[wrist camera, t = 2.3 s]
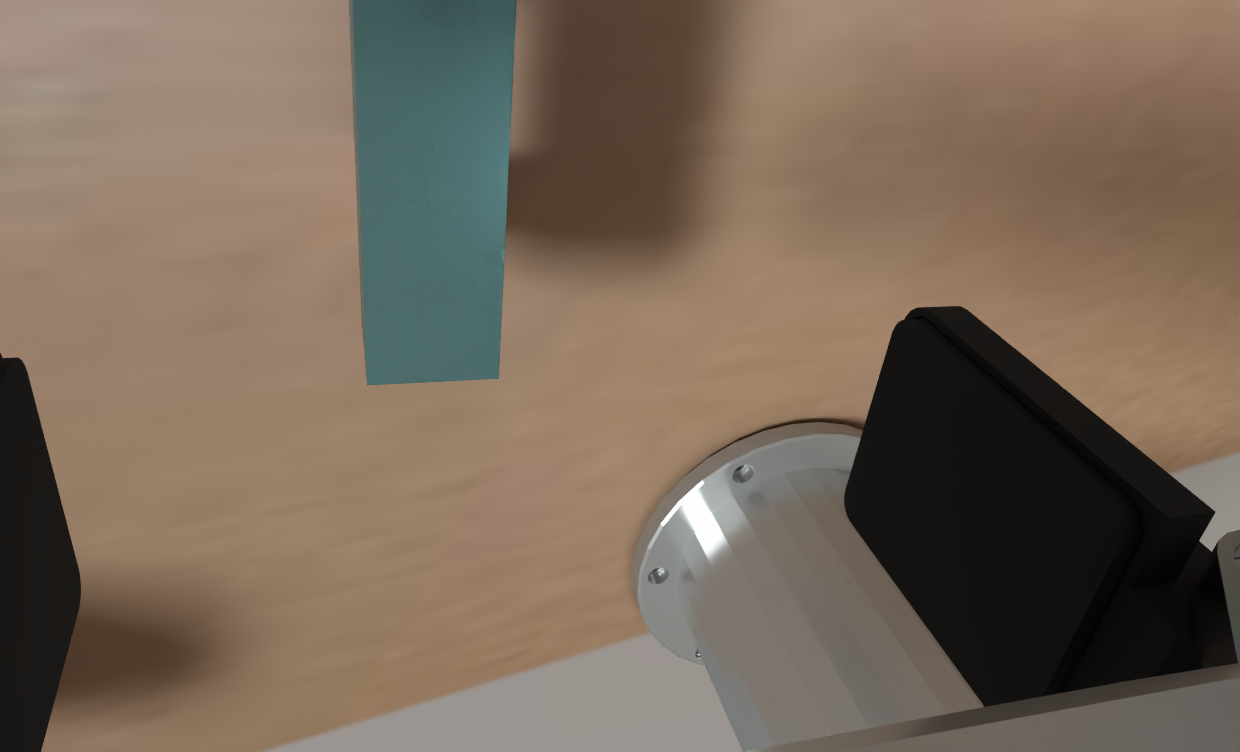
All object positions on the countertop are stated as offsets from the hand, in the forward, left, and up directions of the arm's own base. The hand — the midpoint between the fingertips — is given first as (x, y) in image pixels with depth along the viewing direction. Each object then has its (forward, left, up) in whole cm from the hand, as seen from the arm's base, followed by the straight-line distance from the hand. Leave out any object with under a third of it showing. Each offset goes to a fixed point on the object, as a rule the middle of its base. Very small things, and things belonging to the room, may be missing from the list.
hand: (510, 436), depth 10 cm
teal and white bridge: (0, 0, -18) cm, 18 cm away
